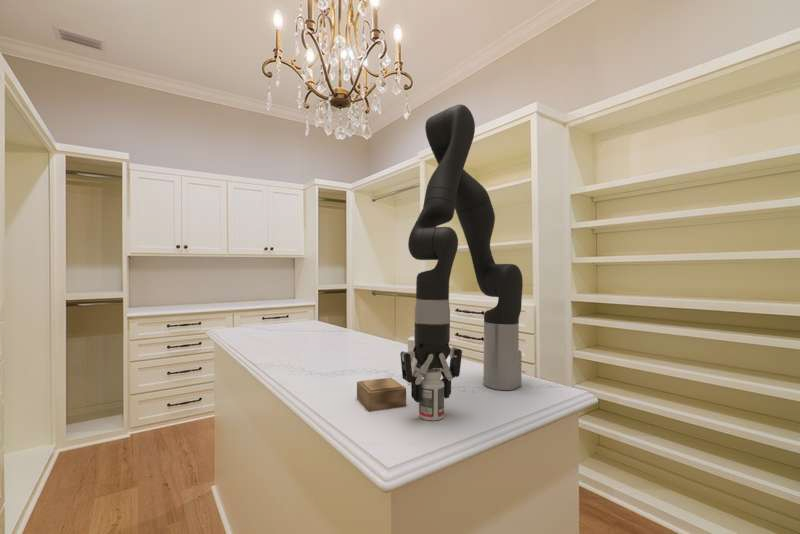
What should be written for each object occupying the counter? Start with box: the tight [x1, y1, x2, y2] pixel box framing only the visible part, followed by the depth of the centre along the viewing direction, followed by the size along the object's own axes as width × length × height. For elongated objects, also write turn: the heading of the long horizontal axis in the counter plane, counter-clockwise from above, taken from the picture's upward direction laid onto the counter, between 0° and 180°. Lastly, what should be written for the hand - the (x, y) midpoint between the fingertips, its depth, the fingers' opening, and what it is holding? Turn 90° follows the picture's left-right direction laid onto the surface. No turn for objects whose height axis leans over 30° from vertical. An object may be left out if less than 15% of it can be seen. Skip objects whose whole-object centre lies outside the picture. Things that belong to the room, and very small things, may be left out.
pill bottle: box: [418, 368, 445, 421], centre depth 78 cm, size 5×5×10 cm
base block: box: [356, 377, 407, 412], centre depth 86 cm, size 9×9×4 cm
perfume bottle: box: [407, 328, 417, 386], centre depth 101 cm, size 5×4×15 cm
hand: (431, 398), depth 78 cm, fingers open, 6 cm apart
